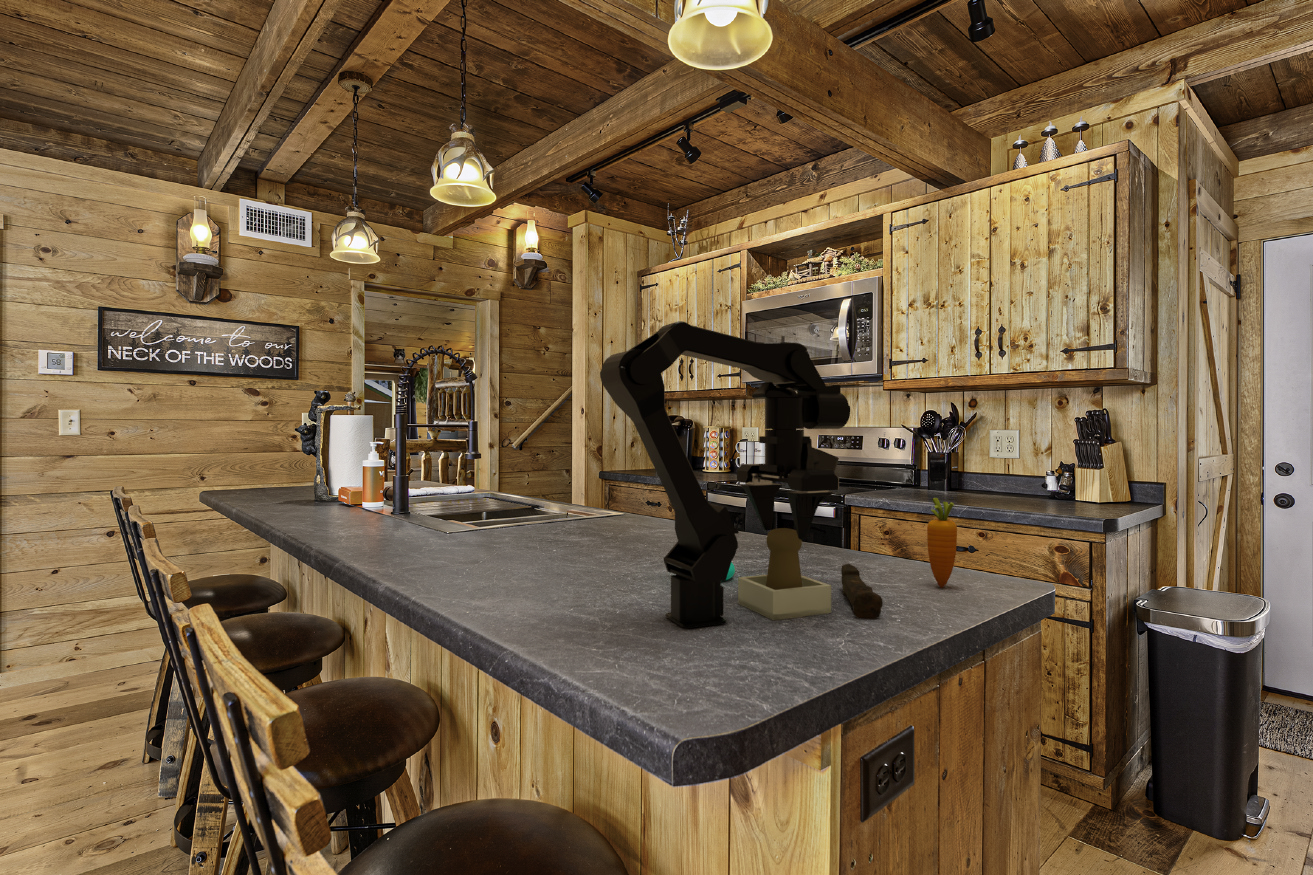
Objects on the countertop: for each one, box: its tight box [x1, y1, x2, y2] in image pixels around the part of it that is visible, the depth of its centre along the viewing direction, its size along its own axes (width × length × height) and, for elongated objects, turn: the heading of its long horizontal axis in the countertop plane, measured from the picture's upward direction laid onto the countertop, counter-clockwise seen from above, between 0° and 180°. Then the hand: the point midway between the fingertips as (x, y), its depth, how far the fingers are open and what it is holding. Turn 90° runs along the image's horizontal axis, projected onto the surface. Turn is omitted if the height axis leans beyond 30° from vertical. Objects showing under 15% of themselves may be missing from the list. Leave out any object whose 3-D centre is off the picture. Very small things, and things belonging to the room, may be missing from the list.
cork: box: [766, 527, 803, 590], centre depth 101 cm, size 6×6×11 cm
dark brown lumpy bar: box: [841, 563, 883, 620], centre depth 105 cm, size 19×4×5 cm, turn 171°
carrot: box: [926, 497, 958, 589], centre depth 114 cm, size 5×5×15 cm
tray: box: [737, 574, 832, 621], centre depth 101 cm, size 10×10×4 cm
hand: (784, 534), depth 101 cm, fingers open, 9 cm apart
